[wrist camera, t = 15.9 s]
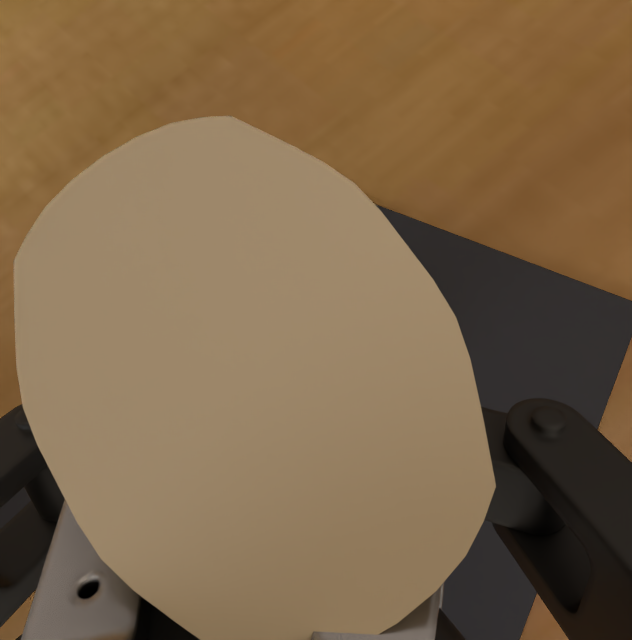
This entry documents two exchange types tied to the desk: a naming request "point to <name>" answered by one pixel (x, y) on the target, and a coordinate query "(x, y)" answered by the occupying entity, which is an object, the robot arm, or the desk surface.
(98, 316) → the handle
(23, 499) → the mat
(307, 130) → the desk surface
